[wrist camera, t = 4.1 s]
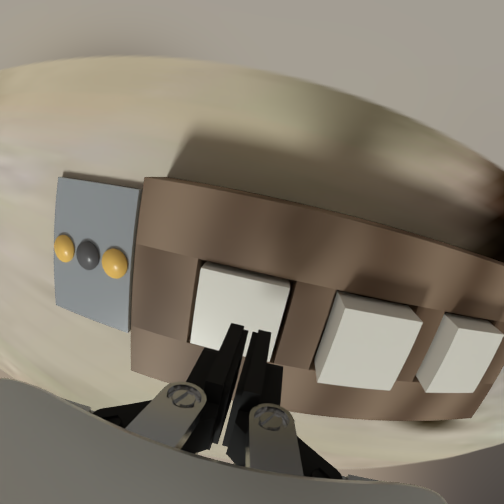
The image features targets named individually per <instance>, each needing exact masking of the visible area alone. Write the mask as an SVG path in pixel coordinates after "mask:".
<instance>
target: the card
mask: <svg viewBox="0 0 504 504" xmlns="http://www.w3.org/2000/svg"><path fill="white" fill-rule="evenodd" d="M141 193H142V189H136V188H130V187H124V186H118V185H112V184H106V183H99V182H93V181H86V180H80V179H73V178H66V177H58V185H57V195H56V208H55V226H54V279H55V298H56V305H58V306H60V307H62V308H65V309H67V310H69V311H72V312H74V313H76V314H79V315H81V316H84V317H86V318H89V319H92V320H94V321H97V322H99V323H102V324H105V325H107V326H110V327H113V328H116V329H118V330H121V331H124V332H127V333H128V332H129V331H130V324H131V295H132V278H133V264H134V252H135V242H136V232H137V223H138V215H139V207H140V200H141Z"/></svg>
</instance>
